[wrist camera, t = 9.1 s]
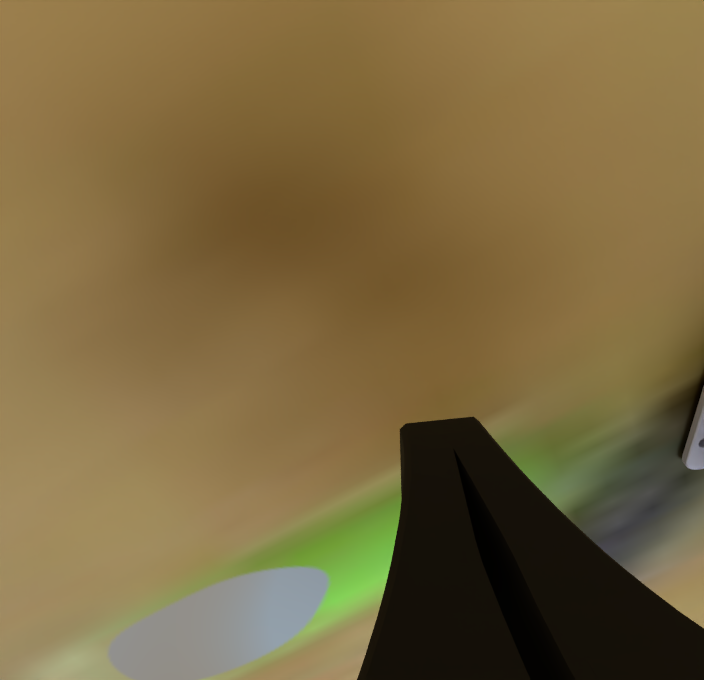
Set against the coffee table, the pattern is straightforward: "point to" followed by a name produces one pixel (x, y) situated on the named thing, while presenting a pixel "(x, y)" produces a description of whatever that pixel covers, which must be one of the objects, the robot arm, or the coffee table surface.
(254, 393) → the coffee table surface
